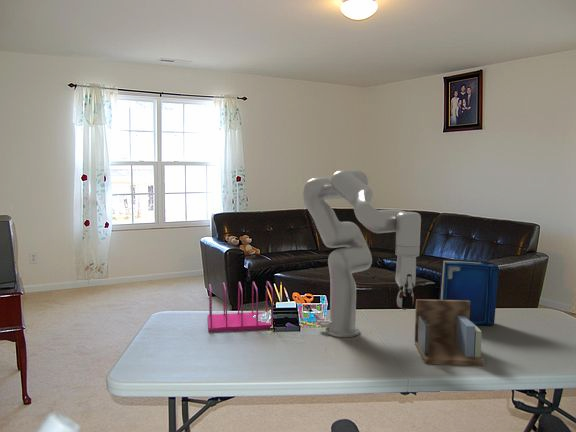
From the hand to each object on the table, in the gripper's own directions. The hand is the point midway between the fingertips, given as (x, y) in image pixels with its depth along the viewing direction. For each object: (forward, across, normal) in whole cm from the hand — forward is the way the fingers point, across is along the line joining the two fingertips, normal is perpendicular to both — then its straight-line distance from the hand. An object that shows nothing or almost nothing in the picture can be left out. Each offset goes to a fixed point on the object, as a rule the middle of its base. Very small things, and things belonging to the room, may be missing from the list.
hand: (405, 304), depth 160 cm
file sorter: (+18, -29, -58) cm, 67 cm away
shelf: (+17, -2, +15) cm, 23 cm away
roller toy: (+1, 0, 0) cm, 1 cm away
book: (+17, -37, +31) cm, 51 cm away
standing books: (+15, -2, +21) cm, 27 cm away
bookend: (+16, -2, +7) cm, 17 cm away
